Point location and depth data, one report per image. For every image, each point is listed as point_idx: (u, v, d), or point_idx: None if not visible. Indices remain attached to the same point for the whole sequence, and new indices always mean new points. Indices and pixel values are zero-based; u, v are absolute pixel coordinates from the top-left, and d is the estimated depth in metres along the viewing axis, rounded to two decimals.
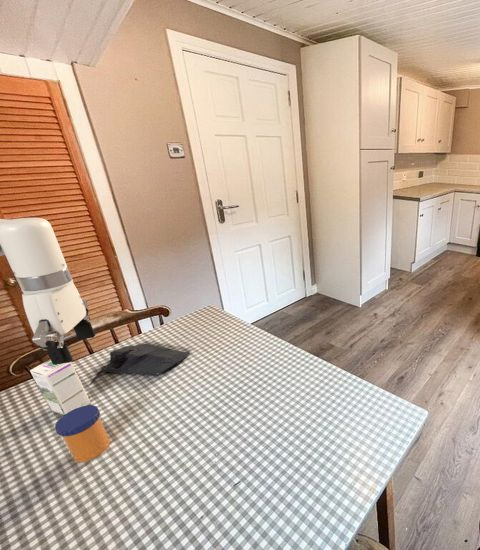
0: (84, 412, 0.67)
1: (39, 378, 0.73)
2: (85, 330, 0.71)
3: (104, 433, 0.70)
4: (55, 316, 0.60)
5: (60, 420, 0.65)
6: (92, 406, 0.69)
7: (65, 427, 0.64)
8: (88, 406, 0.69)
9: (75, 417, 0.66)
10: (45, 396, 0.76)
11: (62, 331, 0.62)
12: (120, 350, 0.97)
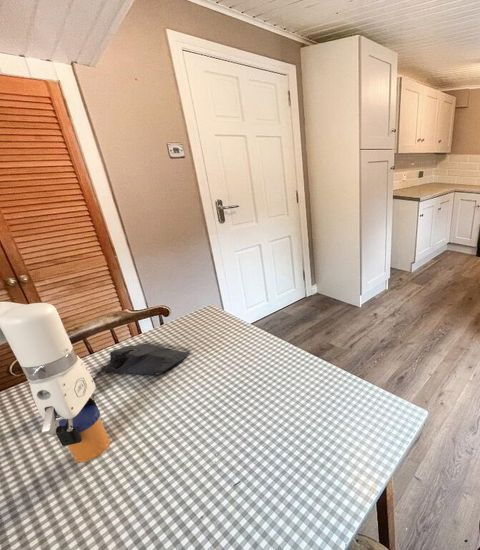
0: (84, 412, 0.67)
1: None
2: None
3: (104, 433, 0.70)
4: None
5: None
6: (92, 406, 0.69)
7: None
8: (88, 406, 0.69)
9: (75, 417, 0.66)
10: None
11: None
12: (120, 350, 0.97)
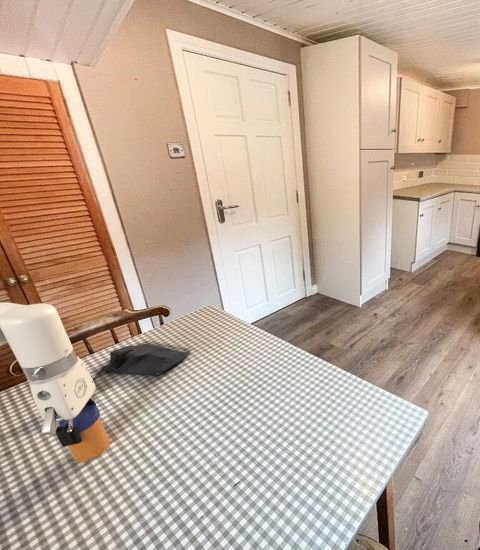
0: None
1: None
2: None
3: (104, 433, 0.70)
4: None
5: None
6: None
7: (85, 419, 0.65)
8: None
9: (75, 418, 0.66)
10: None
11: None
12: (120, 350, 0.97)
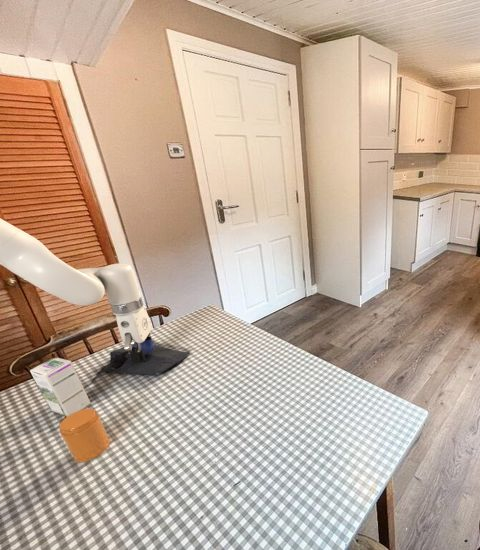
0: (146, 345, 0.95)
1: (39, 378, 0.73)
2: None
3: (104, 433, 0.70)
4: None
5: None
6: (152, 344, 0.96)
7: None
8: (152, 342, 0.96)
9: (141, 345, 0.95)
10: (45, 396, 0.76)
11: None
12: (120, 350, 0.97)
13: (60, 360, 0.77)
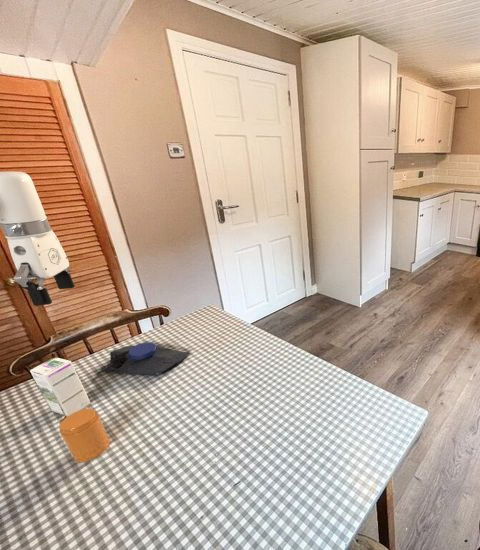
0: (147, 348, 0.96)
1: (39, 378, 0.73)
2: None
3: (104, 433, 0.70)
4: None
5: (140, 344, 0.97)
6: (154, 347, 0.96)
7: (132, 350, 0.94)
8: (154, 346, 0.97)
9: (142, 348, 0.95)
10: (45, 396, 0.76)
11: None
12: (120, 350, 0.97)
13: (60, 360, 0.77)
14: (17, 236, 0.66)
